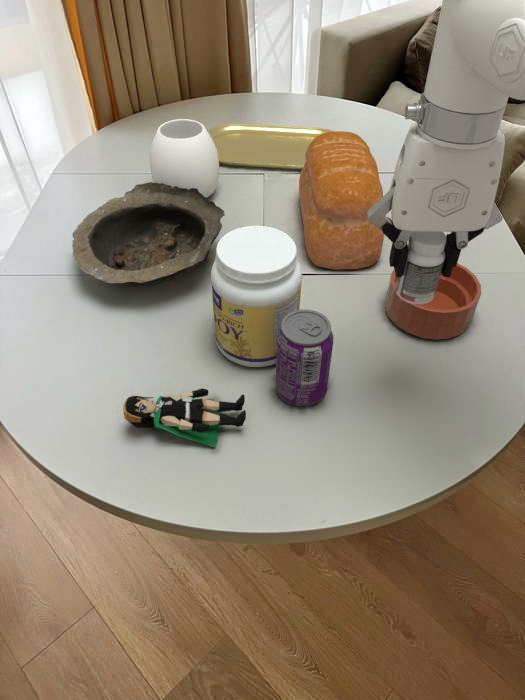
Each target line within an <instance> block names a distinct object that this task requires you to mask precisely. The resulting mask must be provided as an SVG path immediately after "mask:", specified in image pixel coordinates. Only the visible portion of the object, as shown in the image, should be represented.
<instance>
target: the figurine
mask: <svg viewBox="0 0 525 700" xmlns="http://www.w3.org/2000/svg"><path fill="white" fill-rule="evenodd" d="M207 396H209V389H206V388H199V389H196V390H192V391H190V392H189V391H188V392H186V391H185V392H180V393H179V394H178V395H171V394H167V395H166V396H161V395H159V396H158V398H157V399H156V401H155V400H153V399H154V398H155V397H152V396H151V397H149V396H143V395H131V396H129V397H126V398H125V400H124V402H123V405H122V406H123V407H122V410H123V412H122V413H123V419H124V420H125V421H127V422H128V423H130V424H131V425H132V426H133V427H135V428H136V429H160V430H166V431H167V432H169V433H171V434H173V435H175V436H178V437H180V438H183V439H186V440H190V441H192V442H196V443H199V444H203V445H206V446H208V447H212V448H213V449H216V446H217V442H218V439H219V436H220V426H231V427H237V428H239V427H243V426H244V423H245V421H246V419H247V412H246V410H245V409H244V410H243V407H244V404H245V403H246V402H245V401H246V399H245V394H241V396H239V398H238V399H237V400H236V401H235V402H232V401H223V400H220V401H215V400H214V399H213V398H211V399H210V398H203V397H207ZM232 411H233V412H240V411H241V412H240V413H239V414H237V416H236V417H235V416H232V415H230V414H226V412H232ZM224 412H225V413H224ZM151 415H153V416H151Z"/></svg>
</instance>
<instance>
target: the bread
mask: <svg viewBox="0 0 525 700" xmlns="http://www.w3.org/2000/svg"><path fill="white" fill-rule="evenodd" d="M333 131H334V132H325V133H323V134H321V135H319V136H317V137H316V138H315V139H314V140H313V141H312V142H311V143H310V145H309V147H308V149H307V151H306V154H305V157H306V162H305V164H304V166H303V169H302V170H300V174H299V178H298V198H299V205H300V211H301V218H302V223H303V226H304V230H303V239H304V245H305V249H306V253H307V255H308V257H309V259H310V262H312V263H313V264H314V265H315V266H317V267H319V268H324V269H329V270H358V269H363V268H368V267H370V266H372V265H374V264H375V263H376V262H377V261H378V260H379V259H380V258H381V254H382V250H383V245H384V240H385V239H384V238H385V234H384V233H383V231H382V230H380V229H378V228H377V227H376V226H374V225H373V224H372V223H370V222H369V220H368V216H367V212H368V210H369V209H370V208H372V207H373V206H374V205H375V204H376V203H377V202H378V201H379V200H380V199H381V198H382V197H383V196H384V190H383V185H382V183H381V180H380V174H379V167H378V164H377V160H376V159H375V158H374V156H373V154H372V153H371V150H370V146H369V145H368V144H367V142H366V141H365V140H364V139H363V138H362V136H360V135H359V134H357V133H355V132H352V131H346V130H345V131H344V130H339V131H338V130H337V131H335V130H333Z"/></svg>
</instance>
